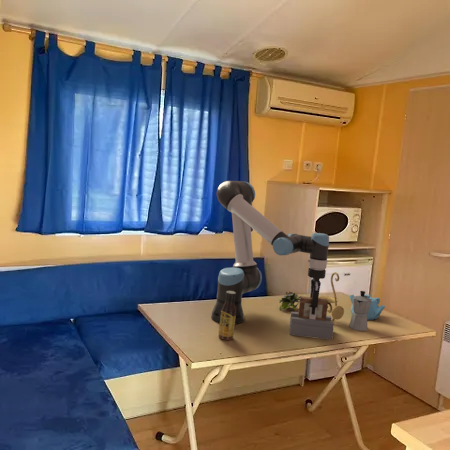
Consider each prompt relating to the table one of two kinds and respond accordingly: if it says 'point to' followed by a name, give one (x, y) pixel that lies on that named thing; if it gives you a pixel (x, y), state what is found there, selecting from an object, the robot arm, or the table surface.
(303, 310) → the picture frame
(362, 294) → the coffee maker
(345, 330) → the table surface
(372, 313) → the teapot
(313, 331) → the picture ledge
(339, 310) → the wall sconce
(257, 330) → the table surface
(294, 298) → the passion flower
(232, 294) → the sauce bottle
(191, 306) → the table surface
